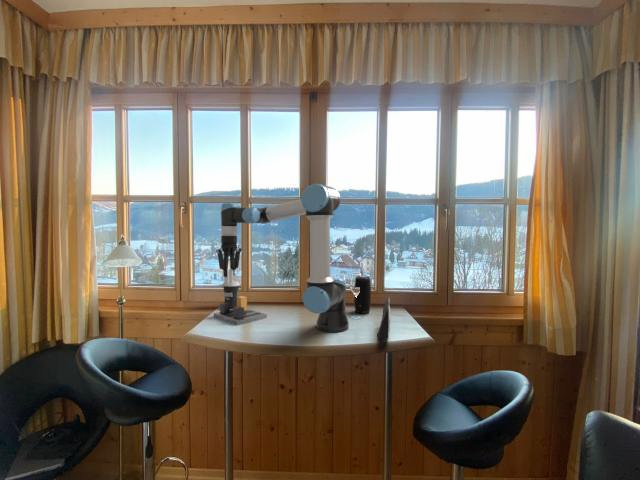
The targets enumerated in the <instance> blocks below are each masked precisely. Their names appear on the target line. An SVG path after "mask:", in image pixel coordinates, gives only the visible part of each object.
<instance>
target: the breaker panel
mask: <svg viewBox="0 0 640 480" xmlns="http://www.w3.org/2000/svg"><path fill="white" fill-rule="evenodd" d="M267 316H268V315H267V313H265V312H262V311H261V312H260V311H257V310H254V309H251V308H248V307H247V313H244V307H241V306H239V307H234V309H230V303H227V302H225V301H224V302H221V303H219V311H218V312H214V313H213V318H215V319H218V320H220V321H223V322H226V323H229V324H232V325H234V326H240V325H244V324H248V323H252V322H256V321H260V320H263V319H267Z"/></svg>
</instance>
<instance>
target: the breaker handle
mask: <svg viewBox="0 0 640 480" xmlns="http://www.w3.org/2000/svg"><path fill="white" fill-rule="evenodd" d="M247 305H248V297H247V296H244V295H240V296H238V297H237V307H239V306H241V307H244V313H247V308H248V306H247Z"/></svg>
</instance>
